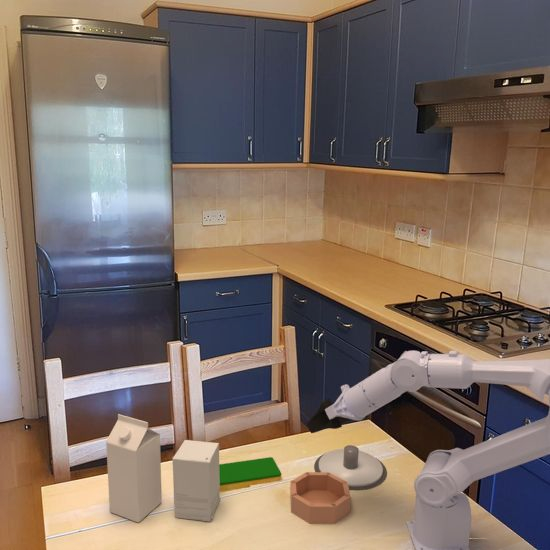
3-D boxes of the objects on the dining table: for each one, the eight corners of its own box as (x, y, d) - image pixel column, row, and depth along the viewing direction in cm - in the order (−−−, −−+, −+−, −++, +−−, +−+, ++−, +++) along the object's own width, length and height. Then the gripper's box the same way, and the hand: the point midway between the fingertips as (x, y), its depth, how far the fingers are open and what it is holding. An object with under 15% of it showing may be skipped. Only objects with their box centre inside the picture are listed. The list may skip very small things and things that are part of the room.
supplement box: (220, 499, 112) (220, 442, 109) (210, 523, 104) (209, 462, 102) (185, 495, 113) (184, 438, 110) (172, 518, 106) (171, 458, 103)
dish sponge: (281, 484, 118) (281, 473, 117) (217, 493, 114) (217, 483, 114) (272, 466, 125) (272, 456, 124) (211, 475, 121) (211, 464, 120)
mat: (379, 451, 131) (379, 450, 130) (394, 492, 115) (394, 490, 115) (311, 450, 130) (311, 449, 130) (317, 491, 115) (317, 489, 115)
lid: (375, 452, 130) (377, 433, 128) (388, 487, 116) (389, 467, 115) (316, 451, 129) (316, 432, 128) (321, 487, 116) (322, 466, 115)
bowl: (344, 489, 116) (345, 472, 115) (352, 525, 104) (353, 507, 103) (289, 489, 115) (289, 471, 115) (291, 525, 104) (292, 506, 103)
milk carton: (133, 493, 113) (130, 406, 109) (162, 503, 110) (159, 414, 106) (109, 512, 107) (104, 422, 103) (138, 523, 104) (135, 430, 100)
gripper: (380, 369, 109) (331, 400, 116) (341, 378, 98) (290, 411, 105) (398, 402, 107) (347, 431, 114) (361, 415, 95) (306, 447, 102)
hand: (320, 424), depth 109 cm, fingers open, 7 cm apart
